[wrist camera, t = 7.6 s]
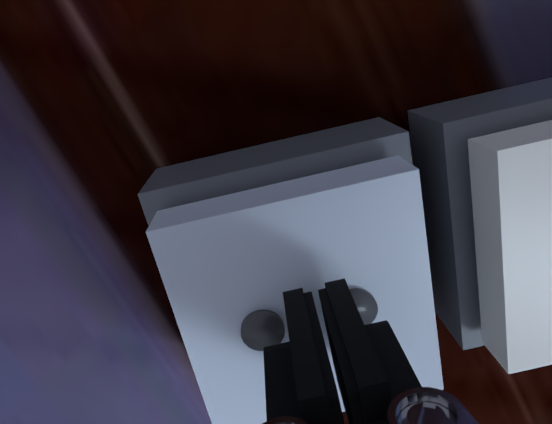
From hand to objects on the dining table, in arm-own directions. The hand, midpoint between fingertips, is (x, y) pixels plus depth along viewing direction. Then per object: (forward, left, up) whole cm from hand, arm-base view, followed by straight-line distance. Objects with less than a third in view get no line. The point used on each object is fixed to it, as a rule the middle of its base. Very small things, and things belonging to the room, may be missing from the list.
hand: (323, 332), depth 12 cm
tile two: (0, 0, -6) cm, 6 cm away
